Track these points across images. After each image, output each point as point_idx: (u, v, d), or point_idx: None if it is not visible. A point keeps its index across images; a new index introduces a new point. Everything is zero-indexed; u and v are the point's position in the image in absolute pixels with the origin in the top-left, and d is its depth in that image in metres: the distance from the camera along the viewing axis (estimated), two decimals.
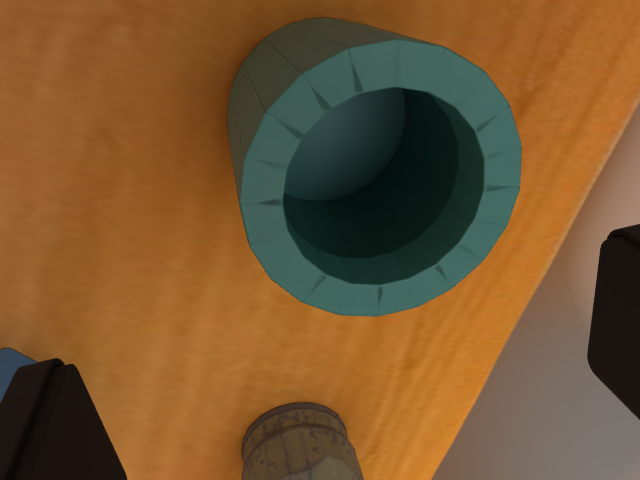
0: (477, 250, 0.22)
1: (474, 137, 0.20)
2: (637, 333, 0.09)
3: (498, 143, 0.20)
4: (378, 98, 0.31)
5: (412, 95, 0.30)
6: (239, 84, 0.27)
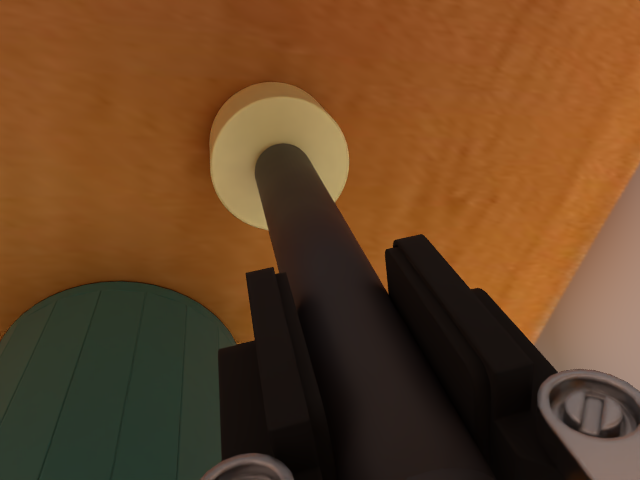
0: None
1: None
2: None
3: None
4: None
5: None
6: None
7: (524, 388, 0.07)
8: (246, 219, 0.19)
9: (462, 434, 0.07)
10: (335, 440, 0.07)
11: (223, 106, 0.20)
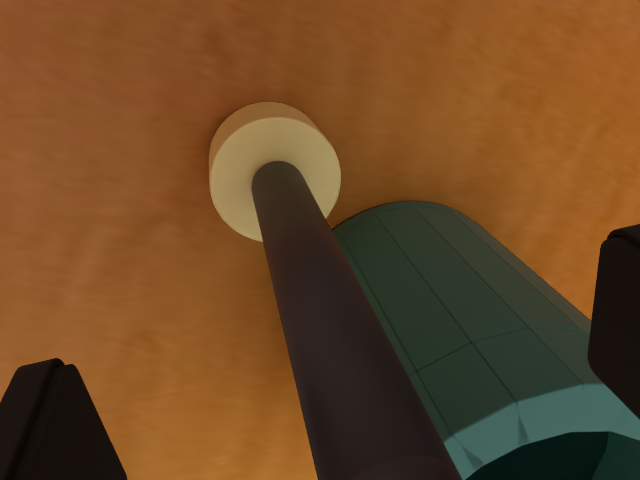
0: None
1: None
2: (637, 333, 0.09)
3: None
4: None
5: None
6: None
7: None
8: (244, 232, 0.20)
9: (426, 427, 0.08)
10: (317, 434, 0.08)
11: (221, 125, 0.21)
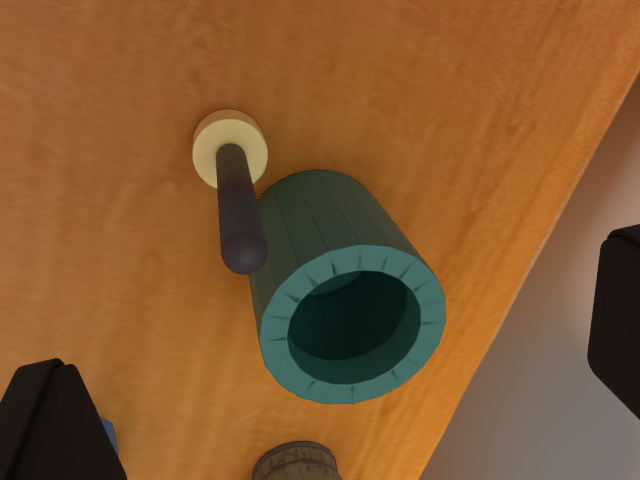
0: (418, 360, 0.33)
1: (413, 293, 0.31)
2: (637, 333, 0.09)
3: (429, 297, 0.31)
4: None
5: None
6: None
7: None
8: (212, 184, 0.36)
9: (256, 227, 0.23)
10: (221, 233, 0.23)
11: (200, 123, 0.36)
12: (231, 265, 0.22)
